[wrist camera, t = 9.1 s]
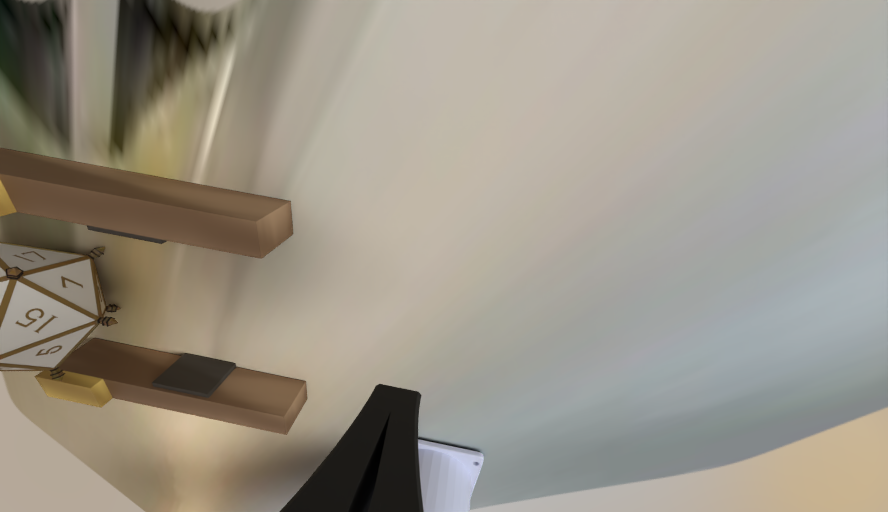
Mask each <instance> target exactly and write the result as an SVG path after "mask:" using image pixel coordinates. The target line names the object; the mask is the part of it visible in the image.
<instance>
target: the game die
mask: <svg viewBox="0 0 888 512" xmlns="http://www.w3.org/2000/svg"><path fill="white" fill-rule="evenodd" d="M104 249H105V247H101V248H95V250H93V251H91V253H90V254H89V255H84V254H77V253H70V252H64V251H57V250H51V249H44V248H38V247H31V246H25V245H18V244H12V243H5V242H0V371H51V375H50V376H52V380H53V379H55V380H58V381H61V382H62V379H63V376H64V374H65V373H63V372H62V371H63V370H60V369H59V366H60V365H61V364H62V363H63V362H64V361H65V359H66V358H67V357H68V356H69V355H70V354H71V353H72V352H73V351H74V350H75V349H76V348H77V347H78V346H79V345H80V344H81V343H82V342H83V341H84V340H85V338H86V337H87V336H88V335H89V334H90V333H91V332H92V331H93V330H94V329H95V328H96V327H97V326H98V325H99V324H100V323H101V324H102V325H103V326H104V325H107V327H108V326H110V325H113V324H116V323H118V322H117V321H116V320H115V318H112V317H110V318H109V317H104V314H105V311H107V312H116V311H117V310H119V309H121V308H119V307H117V306H116V305H115V304H114V305H111V304H110V305H108V306H106V303H105V299H104V296H103V292H102V288H101V285H100V281H99V277H98V274H97V270H96V266H95V263H94V258H96V257H100V255H102V254H103V252H104Z"/></svg>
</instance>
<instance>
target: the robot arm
mask: <svg viewBox="0 0 888 512" xmlns="http://www.w3.org/2000/svg"><path fill="white" fill-rule="evenodd" d="M420 399H421V394H420V393H419V392H417V391H412V390H407V389H402V388H397V387H392V386H388V385H383V384H379V385H377V386H376V387H375V389H374V391H373V392H372V394H371V396H370V397H369V399H368V401H367V402H366V404H365V406H364V407H363V409H362V410H361V412H360V413H359V415H358V416H357V417H356V419H355V420H354V422H353V423H352V425H351V426H350V427H349V429H348V430H347V431H346V433H345V434H344V435H343V437H342V438H341V439H340V441H339V442H338V443H337V445H336V446H335V447H334V449H333V450H332V451H331V453H330V454H329V455H328V456H327V458H326V459H325V460H324V461H323V462H322V464H321V465H320V466H319V467H318V468H317V470H316V471H315V472H314V473H313V474H312V476H311V477H310V478H309V479H308V481H307V482H306V483H305V484H304V485H303V486H302V487H301V489H300V490H299V491H298V492H297V493H296V494H295V495H294V497H293V498H292V499H291V500H290V501H289V502H288V503H287V504H286V505H285V506H284V508H283V509H282V510H281V511H280V512H470V498H471V495H472V492H473V489H474V486H475V484H476V481H477V478H478V475H479V472H480V469H481V467H482V464H483V461H484V455H483V454H482V453H480V452H477V451H472V450H467V449H462V448H458V447H453V446H448V445H443V444H439V443H434V442H429V441H424V440H419V439H418V416H419V405H420Z"/></svg>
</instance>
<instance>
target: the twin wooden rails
mask: <svg viewBox="0 0 888 512" xmlns="http://www.w3.org/2000/svg"><path fill="white" fill-rule="evenodd" d="M14 212H20V213H26V214H31V215H36V216H41V217H47V218H52V219H57V220H62V221H67V222H73V223H78V224H83V225H87V227H88V230H92V231H98V232H103V233H108V234H113V235H118V236H124V237H129V238H134V239H139V240H145V241H150V242H155V243H160V244H162V243H164V242H167V241H172V242H177V243H182V244H188V245H193V246H198V247H203V248H208V249H214V250H219V251H224V252H229V253H235V254H240V255H245V256H250V257H255V258H261V259H262V258H263V257H264V256H266V255H267V254H268V253H269V252H271V251H272V250H273V249H275V248H276V247H277V246H278V245H280V244H281V243H282V242H284V241H285V240H286V239H288V238H289V237H290V236H291V235H293V225H292V213H291V202H290V201H287V200H281V199H276V198H270V197H265V196H259V195H254V194H249V193H243V192H238V191H232V190H227V189H221V188H216V187H210V186H205V185H200V184H194V183H189V182H183V181H178V180H172V179H167V178H161V177H156V176H151V175H145V174H140V173H134V172H129V171H123V170H118V169H112V168H107V167H102V166H96V165H91V164H85V163H80V162H74V161H69V160H63V159H58V158H53V157H47V156H42V155H36V154H31V153H25V152H20V151H14V150H9V149H4V148H0V216H3V215H7V214H11V213H14ZM59 369H60V370H63V371H62V372H63V373H65V374H64V376H63V379H62V382H61V381H58V380H55V379H53V380H52V376H50V375H51V371H42V372H41V373H39V374H38V375H36V376H35V378H36V379H37V381H38V382H39V384H40V385H41V387H42V388H43V390H44V391H45V393H46V394H47V396H49V397H54V398H59V399H63V400H68V401H73V402H77V403H82V404H87V405H92V406H96V407H102V406H104V405H105V404H106V403H107V402H108V401H110V400H111V399H112V398H115V399H120V400H125V401H130V402H134V403H139V404H144V405H148V406H153V407H158V408H163V409H167V410H172V411H177V412H181V413H186V414H191V415H196V416H200V417H205V418H210V419H214V420H219V421H224V422H228V423H233V424H238V425H243V426H247V427H252V428H257V429H261V430H266V431H271V432H276V433H280V434H285V435H287V433H288V432H289V430H290V428H291V426H292V425H293V423H294V421H295V419H296V418H297V416H298V414H299V412H300V411H301V409H302V407H303V405H304V404H305V402H306V400H307V389H306V381H301V380H296V379H292V378H287V377H282V376H277V375H272V374H267V373H262V372H258V371H253V370H248V369H243V368H238V367H236V364H235V363H231V362H226V361H221V360H216V359H211V358H207V357H202V356H197V355H192V354H187V353H185V354H183V355H182V356H180V355H175V354H170V353H165V352H160V351H155V350H150V349H146V348H141V347H136V346H131V345H126V344H121V343H116V342H111V341H107V340H102V339H97V338H94V339H92V340H90V341H89V342H87V343H86V344H84V345H83V346H81V347H80V348H78V349H76V350H75V351H73V352H72V353H71V354H70V355H69V356H68V357H67V358H66V359H65V361H64V362H63V363H62V364H61V365H60V366H59Z"/></svg>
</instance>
